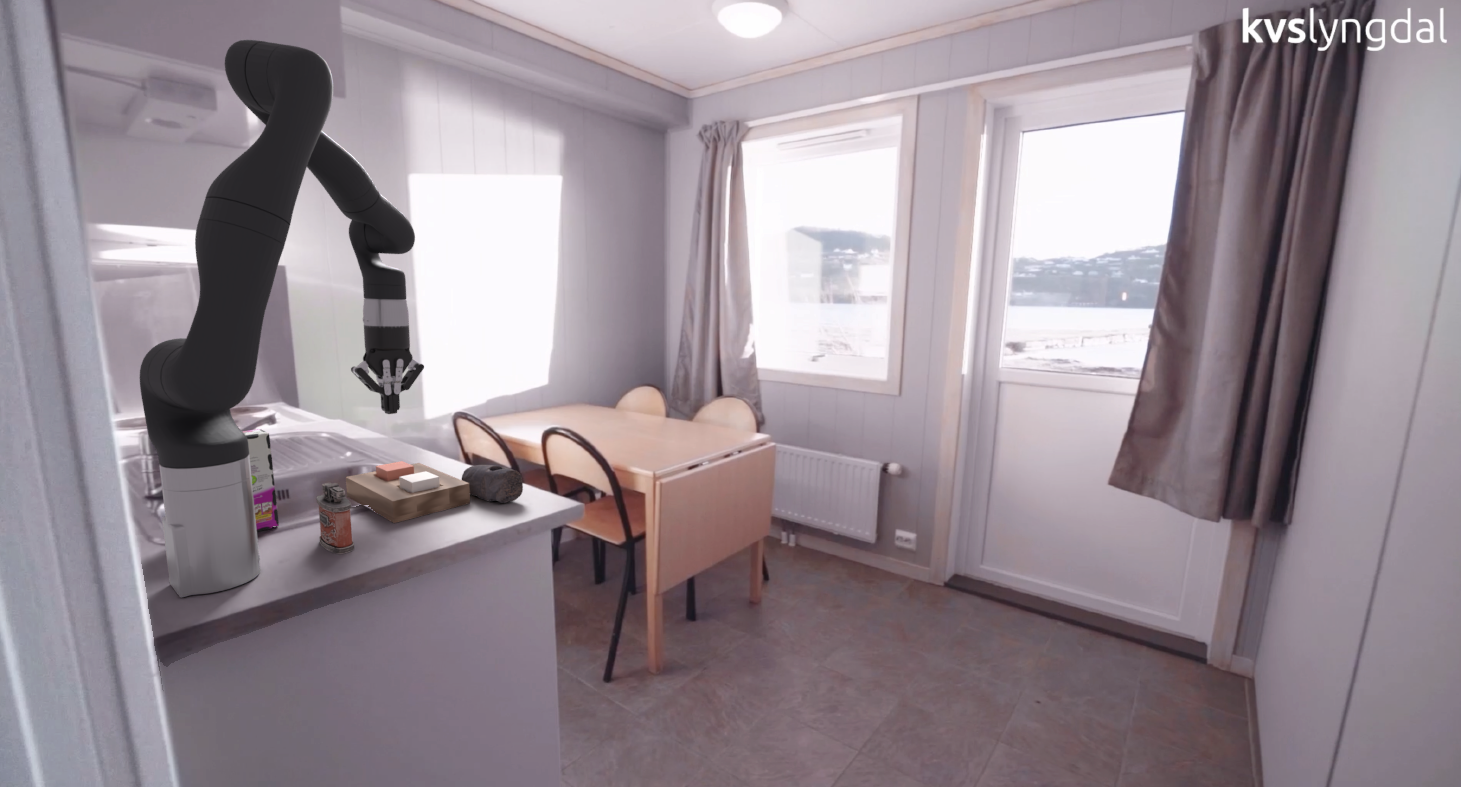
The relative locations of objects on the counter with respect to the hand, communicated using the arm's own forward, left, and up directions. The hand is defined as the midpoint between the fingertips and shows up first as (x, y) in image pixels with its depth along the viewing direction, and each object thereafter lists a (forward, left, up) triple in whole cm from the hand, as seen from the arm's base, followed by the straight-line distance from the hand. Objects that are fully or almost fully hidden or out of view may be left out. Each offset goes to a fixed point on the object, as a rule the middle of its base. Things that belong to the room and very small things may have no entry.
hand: (391, 413), depth 119 cm
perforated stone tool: (+11, -15, -17) cm, 25 cm away
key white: (0, -10, -15) cm, 18 cm away
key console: (0, -5, -16) cm, 17 cm away
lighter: (-17, -18, -17) cm, 30 cm away
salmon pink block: (0, 0, -15) cm, 15 cm away
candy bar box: (-26, -1, -17) cm, 31 cm away
